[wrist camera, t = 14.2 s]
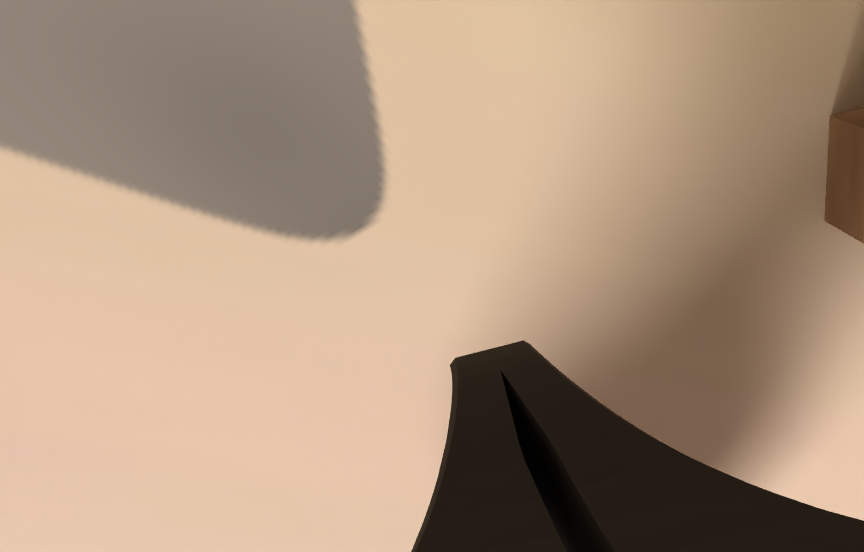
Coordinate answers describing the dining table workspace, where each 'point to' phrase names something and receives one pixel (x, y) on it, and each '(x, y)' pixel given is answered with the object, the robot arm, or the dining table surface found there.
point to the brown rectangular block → (846, 173)
